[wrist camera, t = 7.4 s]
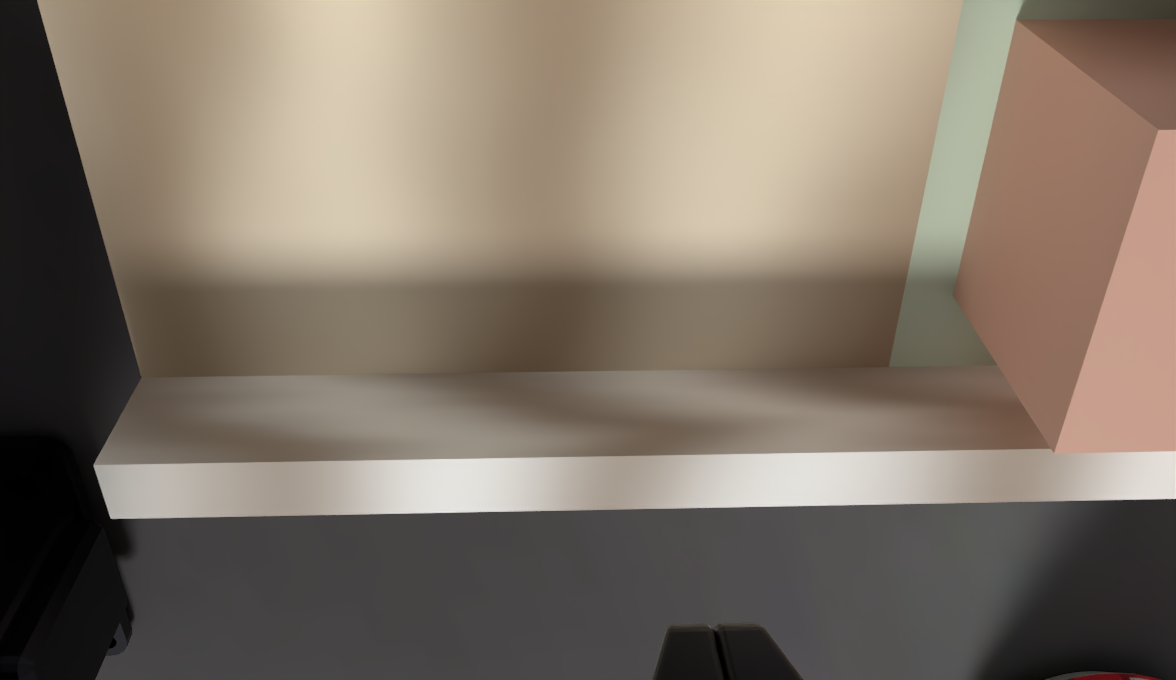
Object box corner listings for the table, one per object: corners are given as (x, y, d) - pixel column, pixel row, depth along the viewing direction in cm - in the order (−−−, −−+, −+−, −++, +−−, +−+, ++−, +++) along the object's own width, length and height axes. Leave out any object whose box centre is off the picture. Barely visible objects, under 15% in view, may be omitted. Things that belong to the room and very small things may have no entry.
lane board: (193, 399, 22) (121, 552, 18) (32, -250, 16) (-131, -219, 12) (1561, 379, 23) (1757, 519, 19) (1954, -236, 17) (2367, -204, 13)
